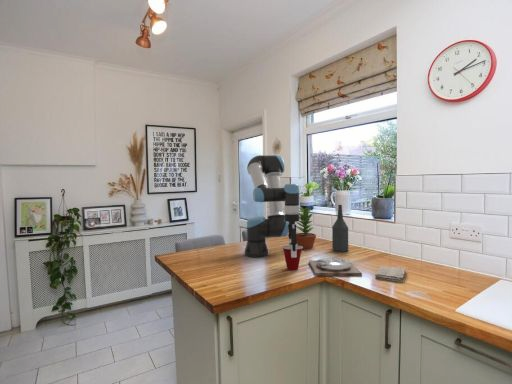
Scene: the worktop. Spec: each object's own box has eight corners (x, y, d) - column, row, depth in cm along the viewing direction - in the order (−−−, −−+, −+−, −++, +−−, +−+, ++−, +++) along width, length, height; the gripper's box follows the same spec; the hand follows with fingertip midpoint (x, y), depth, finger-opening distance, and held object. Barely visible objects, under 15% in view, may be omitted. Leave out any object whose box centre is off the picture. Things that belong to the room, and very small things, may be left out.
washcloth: (374, 280, 134) (374, 273, 134) (379, 269, 149) (379, 263, 149) (403, 284, 128) (403, 277, 128) (405, 272, 143) (405, 266, 143)
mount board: (315, 276, 139) (315, 269, 139) (308, 263, 161) (308, 256, 161) (361, 276, 138) (361, 268, 138) (348, 263, 160) (348, 256, 160)
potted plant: (290, 246, 203) (290, 203, 202) (309, 244, 208) (309, 203, 207) (299, 250, 189) (299, 205, 188) (320, 248, 194) (320, 204, 193)
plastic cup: (302, 265, 156) (302, 243, 155) (303, 272, 145) (303, 248, 145) (282, 265, 157) (282, 243, 157) (282, 271, 146) (281, 248, 146)
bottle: (349, 249, 191) (349, 204, 190) (346, 252, 183) (346, 205, 182) (334, 247, 197) (334, 203, 195) (330, 250, 188) (330, 205, 187)
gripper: (302, 215, 137) (302, 260, 138) (296, 211, 162) (297, 248, 163) (286, 216, 138) (287, 260, 138) (283, 211, 163) (283, 248, 163)
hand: (292, 254), depth 150 cm, fingers open, 13 cm apart
